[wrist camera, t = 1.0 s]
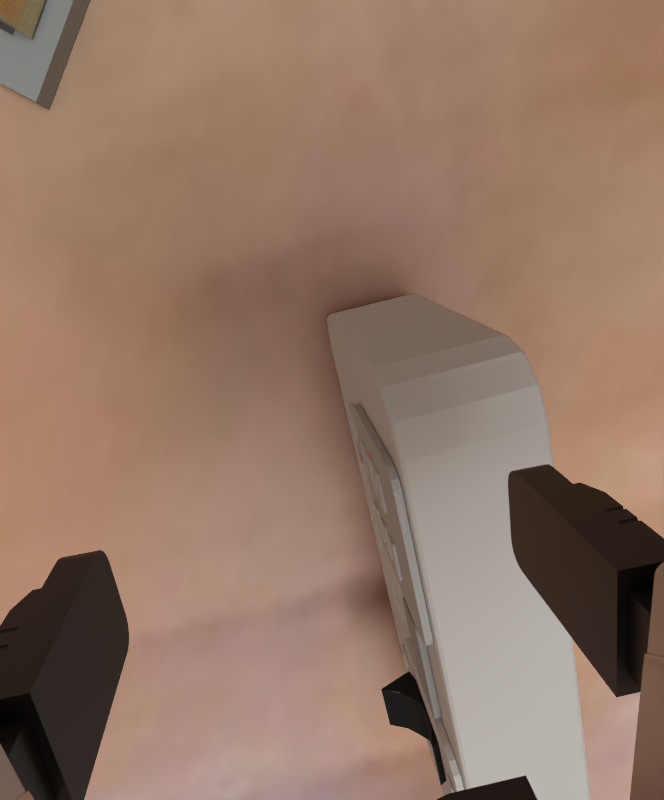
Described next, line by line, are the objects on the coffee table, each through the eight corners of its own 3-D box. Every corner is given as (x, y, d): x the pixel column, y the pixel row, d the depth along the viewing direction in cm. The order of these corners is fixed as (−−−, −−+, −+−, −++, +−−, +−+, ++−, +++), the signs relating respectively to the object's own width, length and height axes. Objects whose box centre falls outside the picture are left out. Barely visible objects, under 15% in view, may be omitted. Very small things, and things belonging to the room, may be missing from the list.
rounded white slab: (285, 317, 36) (314, 407, 19) (405, 287, 36) (542, 348, 19) (376, 679, 45) (452, 963, 28) (472, 652, 45) (605, 916, 28)
